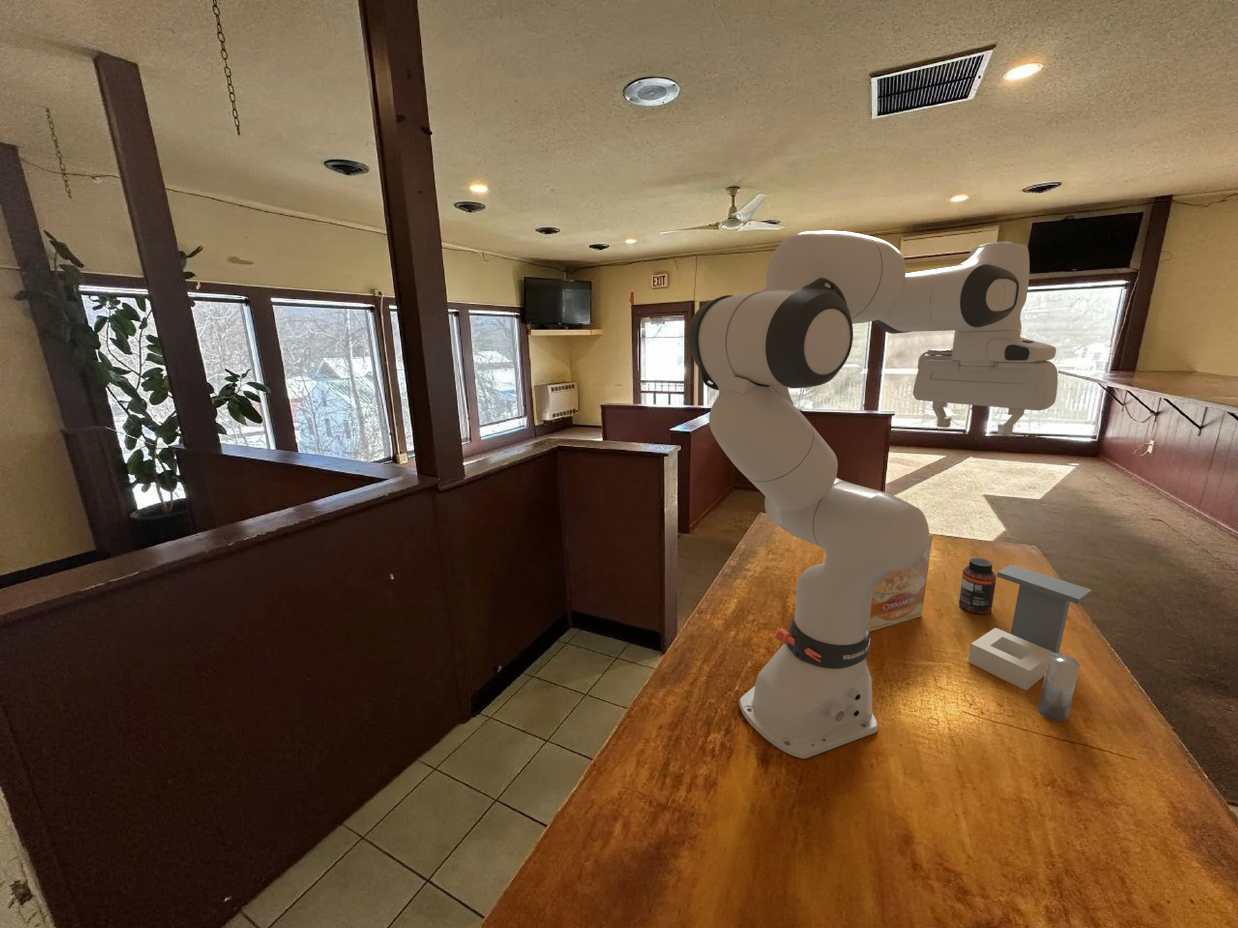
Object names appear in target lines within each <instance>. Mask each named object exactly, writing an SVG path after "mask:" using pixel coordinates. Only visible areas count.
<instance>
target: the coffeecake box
mask: <svg viewBox="0 0 1238 928" xmlns="http://www.w3.org/2000/svg"><path fill="white" fill-rule="evenodd" d="M933 536H934V535H933V534H932V533H930V532H929V541H928V545H927V548H926V550H925V552H924V554H923V555H922V556H921V558H920V559H919V560H918V561H917V562H916V563H915V564H913V565H912V566H910V567H909V568H907V569H904V570H902V571H898V572H895V573H892V574H890V575H888V576H886V577H885V578H883V579H882V580H881V581H880V582H879V584H878V585H877V587H876V588H875V590H874V592H873V595H872V600H871V605H870V611H869V618H868V629H869V633H870V632H873V631H877V630H880V629H883V628H887V627H891V626H893V625H894V626H895V625H897V624H901V623H903V622H904V623H905V622H907V621H910V620H914V619H917V618H921V617H923V611H924V602H925V601H924V600H925V594H926V587H927V580H928V573H929V564H930V558H931V549H932V542H933Z"/></svg>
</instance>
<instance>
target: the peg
mask: <svg viewBox="0 0 1238 928" xmlns="http://www.w3.org/2000/svg"><path fill="white" fill-rule="evenodd" d="M1080 666H1081V665H1080V663H1079V661H1078V660H1076V659H1075V658H1073V657H1071V656H1070V655H1067V654H1063V653H1060V652H1059V653H1051V654H1049V657H1048V662H1047V667H1046V672H1045V675H1044V676H1043V677H1044V678H1043V682H1042V686H1041V692H1040V695H1039V701H1038V705H1037V711H1038V712H1039V713H1040V714H1041V715H1042V716H1043V717H1044V718H1046V719H1048V720H1050V719H1051V720H1050V721H1052V722H1056V721H1060V722H1059V723H1063V722H1062V721H1065V722H1067V721H1068V718H1069V714H1070V709H1071V705H1072V701H1073V697H1074V692H1075V689H1076V683H1077V679H1078V675H1079V671H1080ZM1066 720H1067V721H1066Z"/></svg>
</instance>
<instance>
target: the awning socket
mask: <svg viewBox="0 0 1238 928" xmlns="http://www.w3.org/2000/svg"><path fill="white" fill-rule="evenodd" d="M996 574H997V575H996V578H1000V579H1002V580H1005V581H1009V582H1012V583H1013V584H1014V583H1015V584H1017V585H1018V586H1019V587H1018V591H1017V598H1016V603H1015V607H1014V613H1013V620H1012V624H1011V630H1010V633H1008V632H1006V631H1004V630H1002V629H1000V628H998V627H994V628H993V629H991V630H989V631H988V632H986V633H985V634H983V635H982V636H981V637H979V638H977V639H976V640H974V641H973V642H971V644H970V649H969V656H968V660H967V662H968V663H969V664H971V665H973V666H975V667H977V668H980V669H982V670H984V671H985V672H988V673H990V674H991V675H993V676H995V677H997V678H999V679H1002V680H1003V681H1005V682H1008V683H1010V684H1011V685H1013V686H1016V687H1018V688H1019V689H1022V690H1024V691H1027V690H1030V688H1031V687H1032V686H1034V685H1035V684H1036V683H1037V682H1038V681H1039V680H1041V679H1042V678H1043V677H1044V676H1045V672H1046V667H1047V662H1048V657H1049V654H1051V653H1060V649H1061V644H1062V640H1063V636H1064V632H1065V627H1066V621H1067V618H1068V617H1067V616H1068V613H1069V608H1070V603H1073V604H1077V605H1080V603H1082V602H1084V601H1085V600H1086V599H1088V598H1089V597H1091V595H1092V593H1093V592H1092V591H1093V590H1092V589H1091V588H1089V587H1084V586H1081V585H1078V584H1075V583H1073V582H1068V581H1066V580H1062V579H1059V578H1056V577H1053V576H1050V575H1046V574H1043V573H1040V572H1037V571H1034V570H1031V569H1027V568H1025V567H1021V566H1019V565H1014V564H1009V565H1008V566H1006V567H1003V568H1002V569H1001V570H998V571H997V573H996Z"/></svg>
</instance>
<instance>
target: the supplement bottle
mask: <svg viewBox="0 0 1238 928" xmlns="http://www.w3.org/2000/svg"><path fill="white" fill-rule="evenodd" d="M996 574H997V573H995V572H994V571H993V562H992V561H990V560H988V559H986V558H982V557H972V558H970V559H969V563H968V566H965V567H964V568H963V570H962V574H961V575H962V577H961V582H960V588H959V589H960V590H959V591H960V592H959V596H958V605H959V606H960V608H962V609H963V610H965V611H967V612H970V613H974V614H977V615H978V614H979V615H987V614H989V613H991V612H992V608H993V603H994V596H995V589H996V582H997V575H996Z"/></svg>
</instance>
